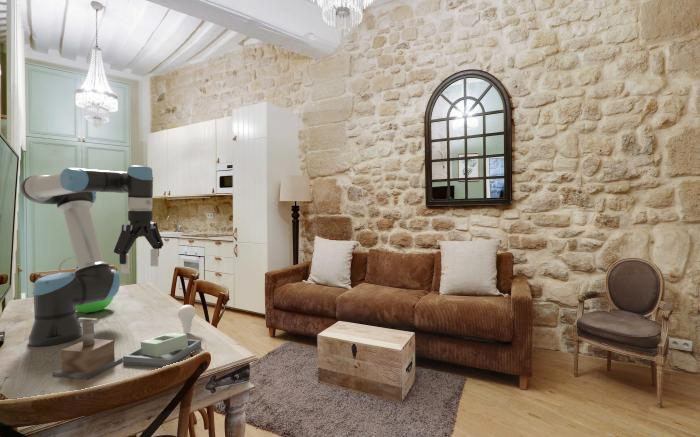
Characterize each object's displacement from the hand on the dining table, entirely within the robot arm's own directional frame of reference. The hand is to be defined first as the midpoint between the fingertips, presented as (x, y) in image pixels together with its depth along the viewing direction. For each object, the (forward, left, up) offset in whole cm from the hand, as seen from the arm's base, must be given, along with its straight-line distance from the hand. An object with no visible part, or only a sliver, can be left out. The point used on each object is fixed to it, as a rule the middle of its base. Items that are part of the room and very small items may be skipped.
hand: (140, 269), depth 126 cm
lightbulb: (+11, +10, -26) cm, 30 cm away
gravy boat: (-50, +27, -26) cm, 62 cm away
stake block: (0, -21, -26) cm, 34 cm away
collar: (+17, -9, -24) cm, 31 cm away
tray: (+16, -9, -26) cm, 32 cm away
